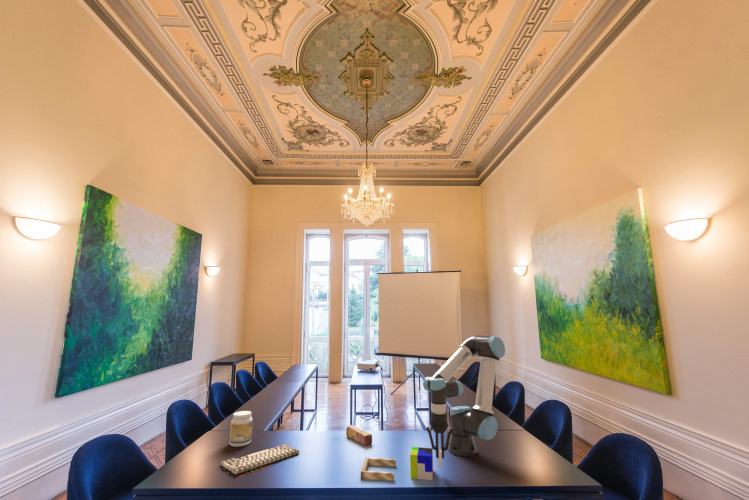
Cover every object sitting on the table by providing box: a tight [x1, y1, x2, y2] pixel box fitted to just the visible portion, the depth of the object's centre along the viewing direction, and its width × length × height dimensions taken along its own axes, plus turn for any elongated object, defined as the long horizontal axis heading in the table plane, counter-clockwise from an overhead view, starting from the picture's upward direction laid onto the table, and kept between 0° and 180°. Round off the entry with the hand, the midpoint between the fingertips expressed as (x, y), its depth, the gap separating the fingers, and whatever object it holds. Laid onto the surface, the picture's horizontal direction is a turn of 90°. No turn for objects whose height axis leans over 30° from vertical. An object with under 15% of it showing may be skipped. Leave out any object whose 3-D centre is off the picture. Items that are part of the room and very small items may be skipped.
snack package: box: [345, 424, 373, 447], centre depth 204 cm, size 21×7×7 cm, turn 35°
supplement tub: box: [229, 410, 254, 448], centre depth 200 cm, size 12×12×17 cm
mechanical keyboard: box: [219, 443, 300, 478], centre depth 175 cm, size 38×19×3 cm, turn 138°
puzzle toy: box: [409, 446, 434, 481], centre depth 160 cm, size 10×10×10 cm
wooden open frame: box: [360, 457, 397, 482], centre depth 162 cm, size 16×16×3 cm
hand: (440, 465), depth 159 cm, fingers closed
